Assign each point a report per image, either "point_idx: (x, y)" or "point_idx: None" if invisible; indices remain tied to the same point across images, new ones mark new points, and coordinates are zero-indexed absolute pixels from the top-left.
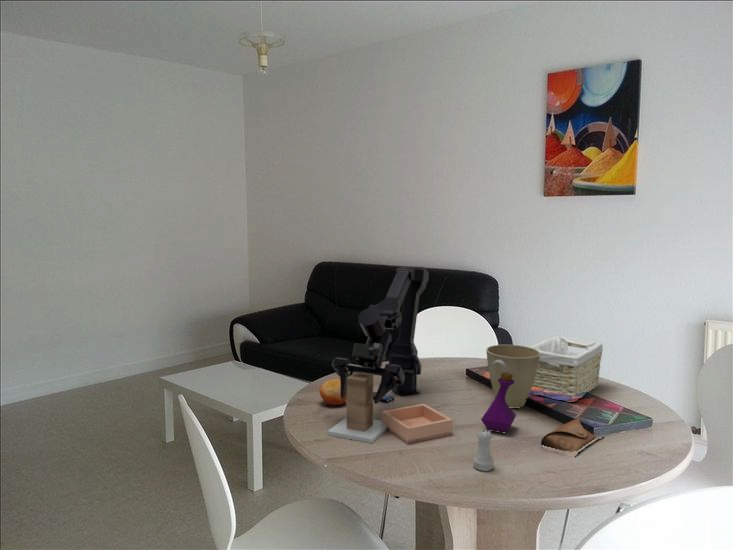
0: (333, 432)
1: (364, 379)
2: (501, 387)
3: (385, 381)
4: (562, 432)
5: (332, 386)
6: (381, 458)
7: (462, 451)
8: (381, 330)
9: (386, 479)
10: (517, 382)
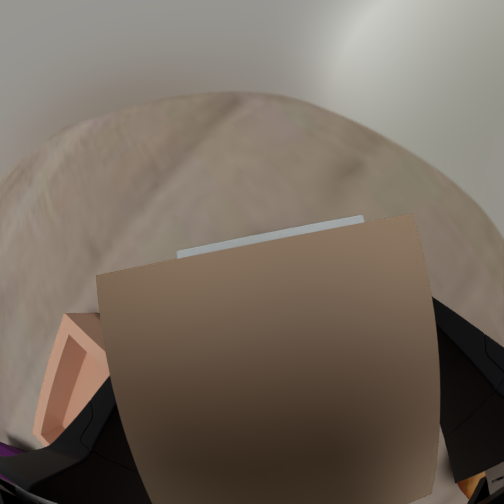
0: (338, 219)
1: (120, 308)
2: None
3: (54, 448)
4: None
5: None
6: (118, 188)
7: (16, 336)
8: None
9: (86, 127)
10: None
